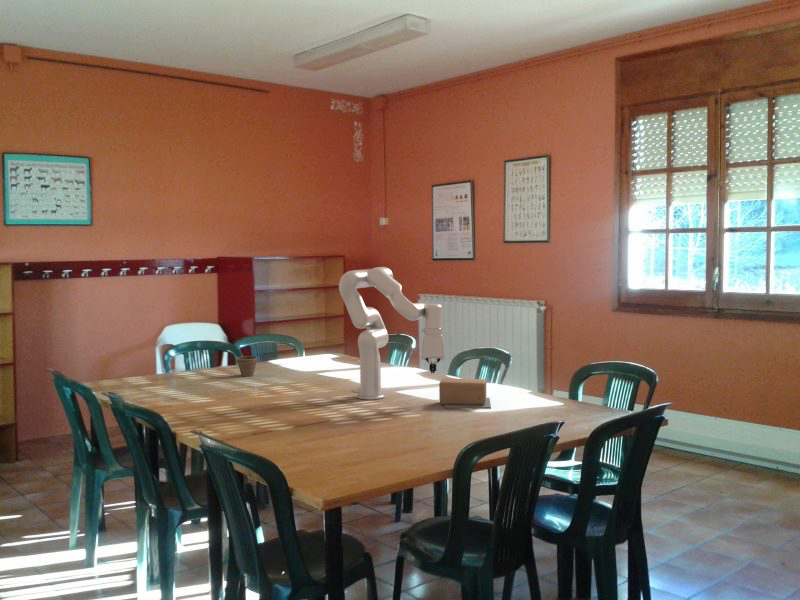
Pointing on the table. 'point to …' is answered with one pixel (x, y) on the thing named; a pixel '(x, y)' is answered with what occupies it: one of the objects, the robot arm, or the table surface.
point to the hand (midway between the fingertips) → (432, 372)
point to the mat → (486, 405)
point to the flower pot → (247, 365)
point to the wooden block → (462, 391)
